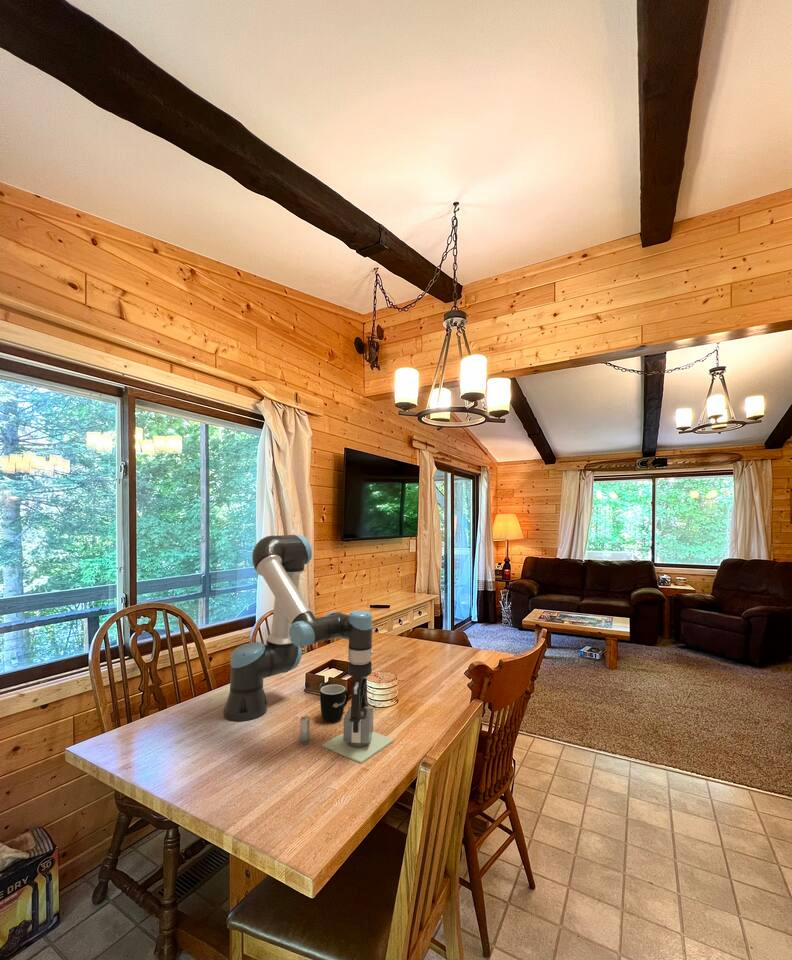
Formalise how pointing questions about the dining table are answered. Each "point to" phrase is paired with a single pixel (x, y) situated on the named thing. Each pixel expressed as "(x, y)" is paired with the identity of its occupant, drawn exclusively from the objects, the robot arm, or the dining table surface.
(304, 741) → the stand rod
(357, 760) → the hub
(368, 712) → the collar
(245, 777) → the dining table surface
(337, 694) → the mug
